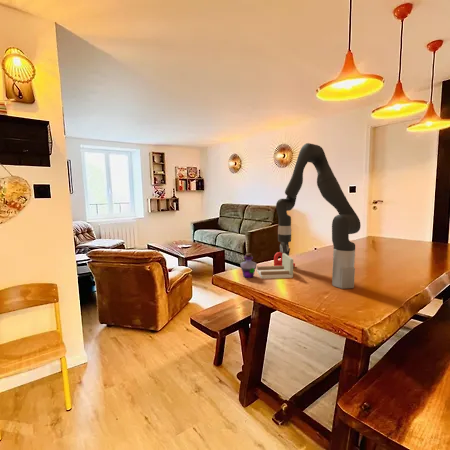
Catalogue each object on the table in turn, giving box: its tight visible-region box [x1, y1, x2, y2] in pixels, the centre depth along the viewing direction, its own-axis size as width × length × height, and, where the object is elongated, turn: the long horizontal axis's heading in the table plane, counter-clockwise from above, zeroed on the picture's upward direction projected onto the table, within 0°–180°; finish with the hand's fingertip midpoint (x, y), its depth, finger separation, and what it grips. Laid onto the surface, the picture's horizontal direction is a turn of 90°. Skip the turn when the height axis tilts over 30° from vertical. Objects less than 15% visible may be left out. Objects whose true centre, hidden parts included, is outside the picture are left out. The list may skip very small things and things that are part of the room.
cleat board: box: [255, 253, 294, 280], centre depth 151 cm, size 14×16×10 cm
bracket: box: [273, 251, 296, 267], centre depth 165 cm, size 12×4×8 cm, turn 112°
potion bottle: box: [240, 252, 258, 279], centre depth 147 cm, size 9×9×12 cm
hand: (284, 262), depth 167 cm, fingers closed on bracket, 1 cm apart
